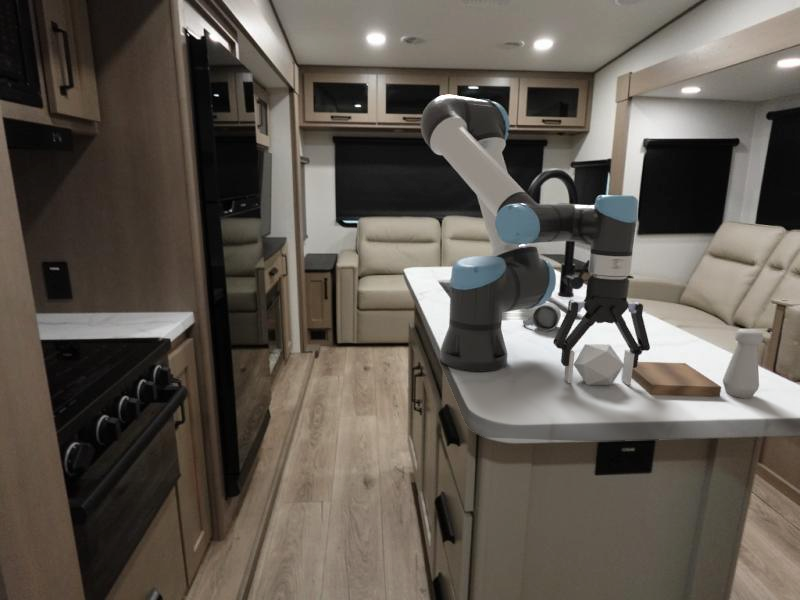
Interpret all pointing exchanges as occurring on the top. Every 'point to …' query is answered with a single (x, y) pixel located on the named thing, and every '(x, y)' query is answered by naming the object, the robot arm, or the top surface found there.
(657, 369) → the walnut board
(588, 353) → the die
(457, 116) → the robot arm
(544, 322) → the ceramic mug
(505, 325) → the top surface
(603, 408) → the top surface
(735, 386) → the salt shaker
